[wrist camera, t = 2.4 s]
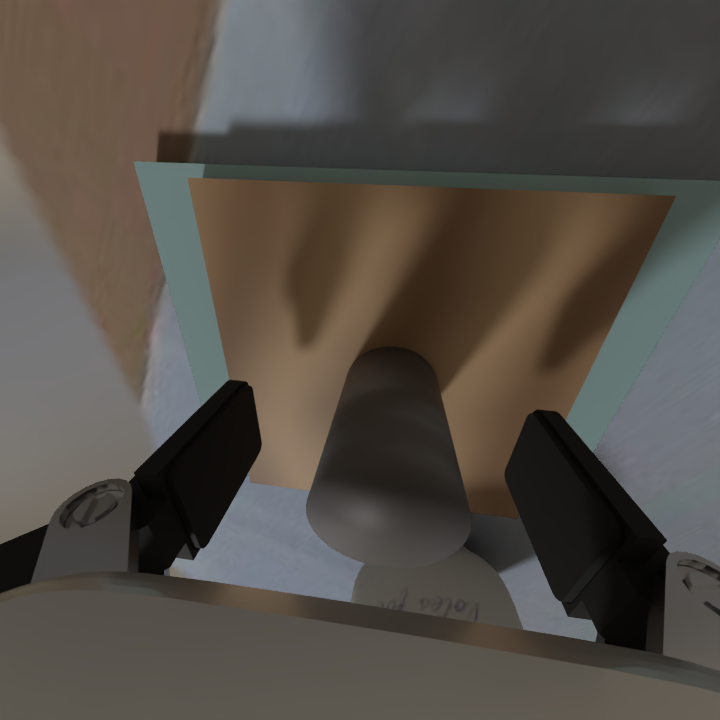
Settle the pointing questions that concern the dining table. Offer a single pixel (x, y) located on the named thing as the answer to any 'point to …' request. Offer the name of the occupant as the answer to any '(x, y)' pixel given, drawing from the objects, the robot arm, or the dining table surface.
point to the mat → (655, 278)
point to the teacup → (440, 590)
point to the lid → (410, 339)
